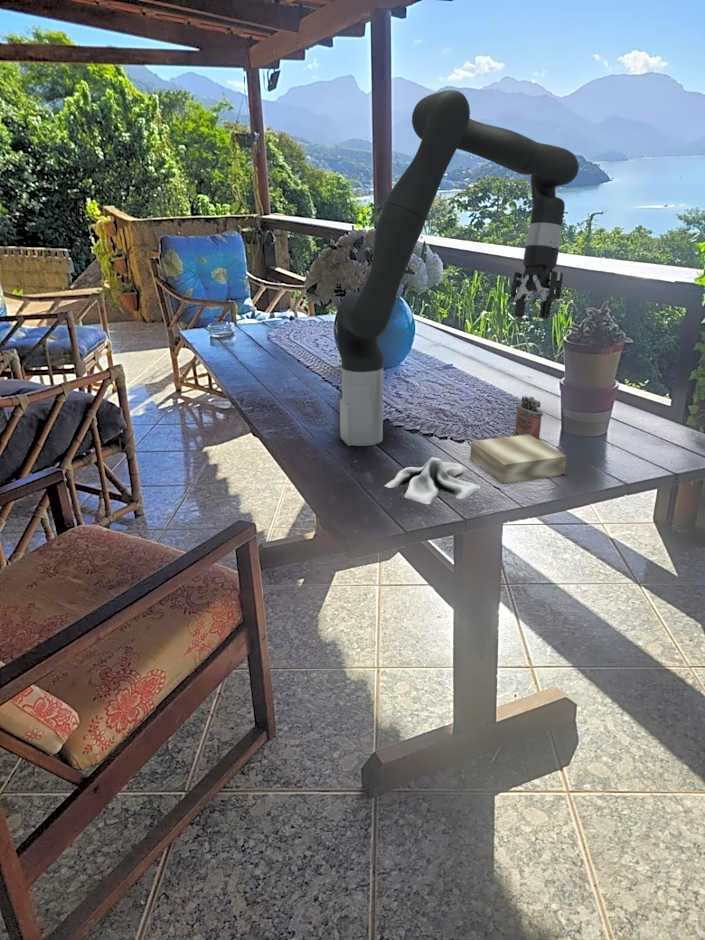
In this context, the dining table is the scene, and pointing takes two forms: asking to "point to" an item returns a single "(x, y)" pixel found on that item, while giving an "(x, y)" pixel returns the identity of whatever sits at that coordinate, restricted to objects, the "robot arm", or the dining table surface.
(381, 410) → the robot arm
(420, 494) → the cloth
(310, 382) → the dining table surface
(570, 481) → the dining table surface
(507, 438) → the base block
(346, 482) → the dining table surface
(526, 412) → the lighter
